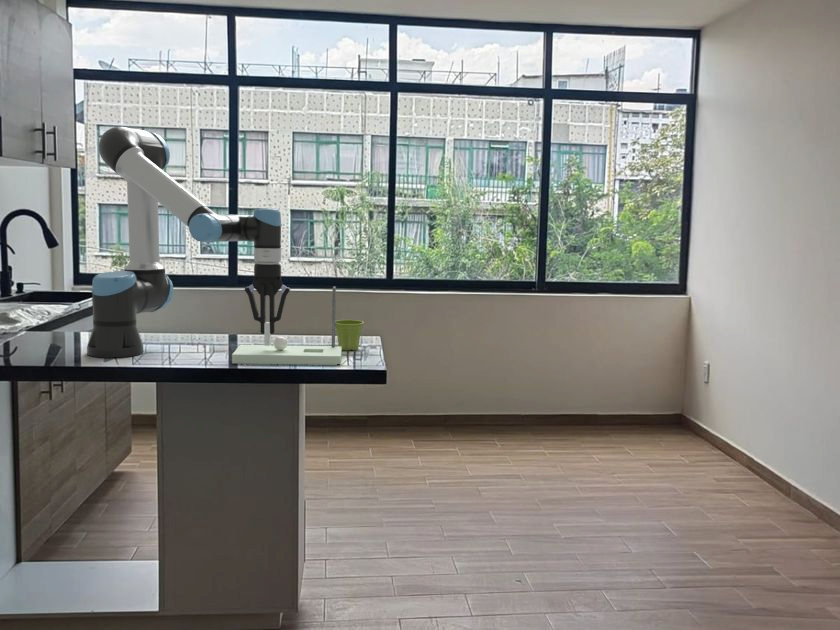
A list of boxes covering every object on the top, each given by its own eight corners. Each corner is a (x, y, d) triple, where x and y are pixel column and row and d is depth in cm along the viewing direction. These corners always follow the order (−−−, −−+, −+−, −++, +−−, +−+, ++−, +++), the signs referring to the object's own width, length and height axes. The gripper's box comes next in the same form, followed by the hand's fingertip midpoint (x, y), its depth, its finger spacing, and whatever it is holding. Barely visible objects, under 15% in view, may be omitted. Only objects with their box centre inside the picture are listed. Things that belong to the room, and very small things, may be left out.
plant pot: (355, 352, 235) (356, 324, 234) (328, 350, 238) (328, 322, 237) (368, 348, 244) (368, 321, 243) (341, 345, 247) (342, 319, 246)
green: (232, 363, 212) (232, 289, 210) (242, 350, 232) (242, 283, 229) (340, 364, 215) (341, 292, 213) (341, 352, 234) (342, 285, 232)
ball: (287, 338, 219) (286, 352, 219) (288, 336, 223) (287, 349, 223) (273, 337, 218) (272, 350, 219) (274, 334, 222) (273, 348, 223)
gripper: (242, 263, 213) (242, 346, 216) (289, 264, 214) (289, 347, 217) (246, 261, 221) (246, 342, 224) (291, 262, 222) (291, 343, 225)
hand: (267, 344), depth 221 cm, fingers closed
